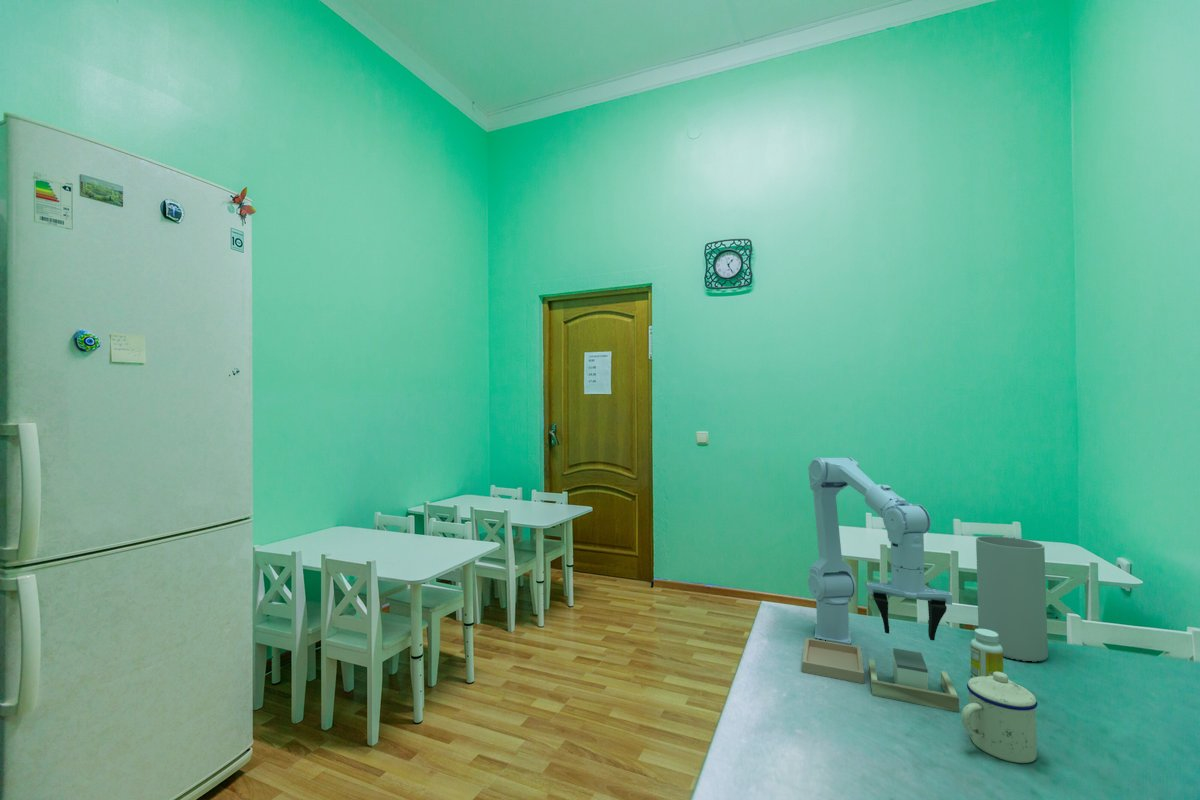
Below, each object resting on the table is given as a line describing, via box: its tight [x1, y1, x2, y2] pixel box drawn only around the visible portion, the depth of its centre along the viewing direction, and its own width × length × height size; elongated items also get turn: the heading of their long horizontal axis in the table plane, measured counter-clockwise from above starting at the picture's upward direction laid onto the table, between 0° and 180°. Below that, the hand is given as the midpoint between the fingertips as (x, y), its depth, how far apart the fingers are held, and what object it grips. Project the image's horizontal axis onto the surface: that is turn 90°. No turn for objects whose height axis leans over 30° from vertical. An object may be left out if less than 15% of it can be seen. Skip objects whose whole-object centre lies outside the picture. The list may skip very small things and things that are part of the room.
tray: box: [801, 637, 865, 685], centre depth 112 cm, size 14×12×2 cm
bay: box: [868, 658, 960, 713], centre depth 102 cm, size 11×14×2 cm
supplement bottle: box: [970, 628, 1004, 678], centre depth 106 cm, size 5×5×10 cm
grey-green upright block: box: [892, 647, 929, 690], centre depth 102 cm, size 8×5×6 cm, turn 156°
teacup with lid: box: [960, 672, 1039, 764], centre depth 84 cm, size 12×9×12 cm
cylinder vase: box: [975, 535, 1049, 663], centre depth 120 cm, size 12×12×25 cm
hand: (908, 635), depth 103 cm, fingers open, 7 cm apart
